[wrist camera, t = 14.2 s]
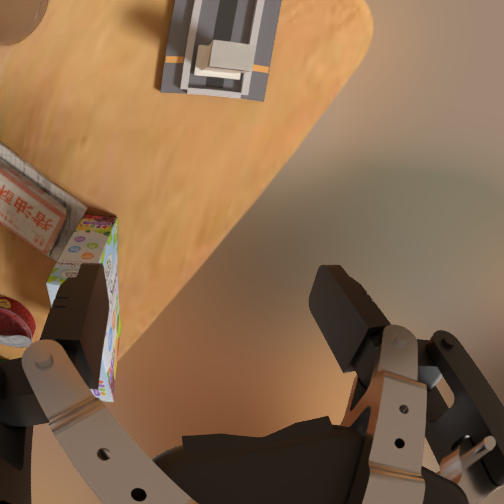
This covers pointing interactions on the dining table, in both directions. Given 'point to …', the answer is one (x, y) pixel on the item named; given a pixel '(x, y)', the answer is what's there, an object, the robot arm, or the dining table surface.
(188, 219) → the dining table surface
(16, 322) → the canned food
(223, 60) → the fader tab
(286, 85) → the dining table surface
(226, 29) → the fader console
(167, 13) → the dining table surface
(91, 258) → the snack box
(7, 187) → the packaged product
